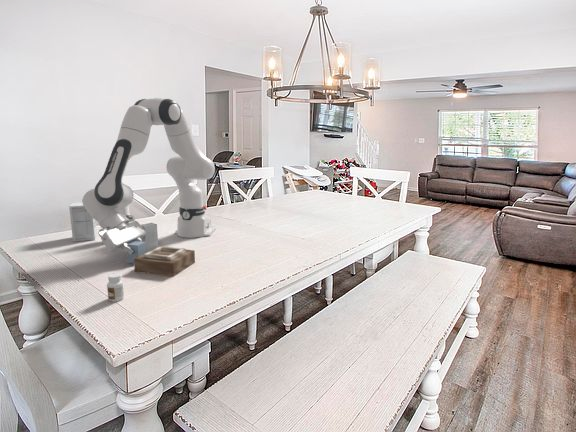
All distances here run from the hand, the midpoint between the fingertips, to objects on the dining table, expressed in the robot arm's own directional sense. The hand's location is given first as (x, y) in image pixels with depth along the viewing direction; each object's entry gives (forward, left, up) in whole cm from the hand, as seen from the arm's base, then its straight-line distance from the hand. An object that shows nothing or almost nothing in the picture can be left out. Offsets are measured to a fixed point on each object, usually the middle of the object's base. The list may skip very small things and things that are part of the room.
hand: (138, 250), depth 150 cm
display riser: (+2, +13, -4) cm, 14 cm away
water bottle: (-26, -27, -5) cm, 37 cm away
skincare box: (-13, -4, -5) cm, 14 cm away
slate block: (0, -1, -4) cm, 4 cm away
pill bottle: (+32, +14, -5) cm, 35 cm away
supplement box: (-21, -44, -5) cm, 49 cm away
